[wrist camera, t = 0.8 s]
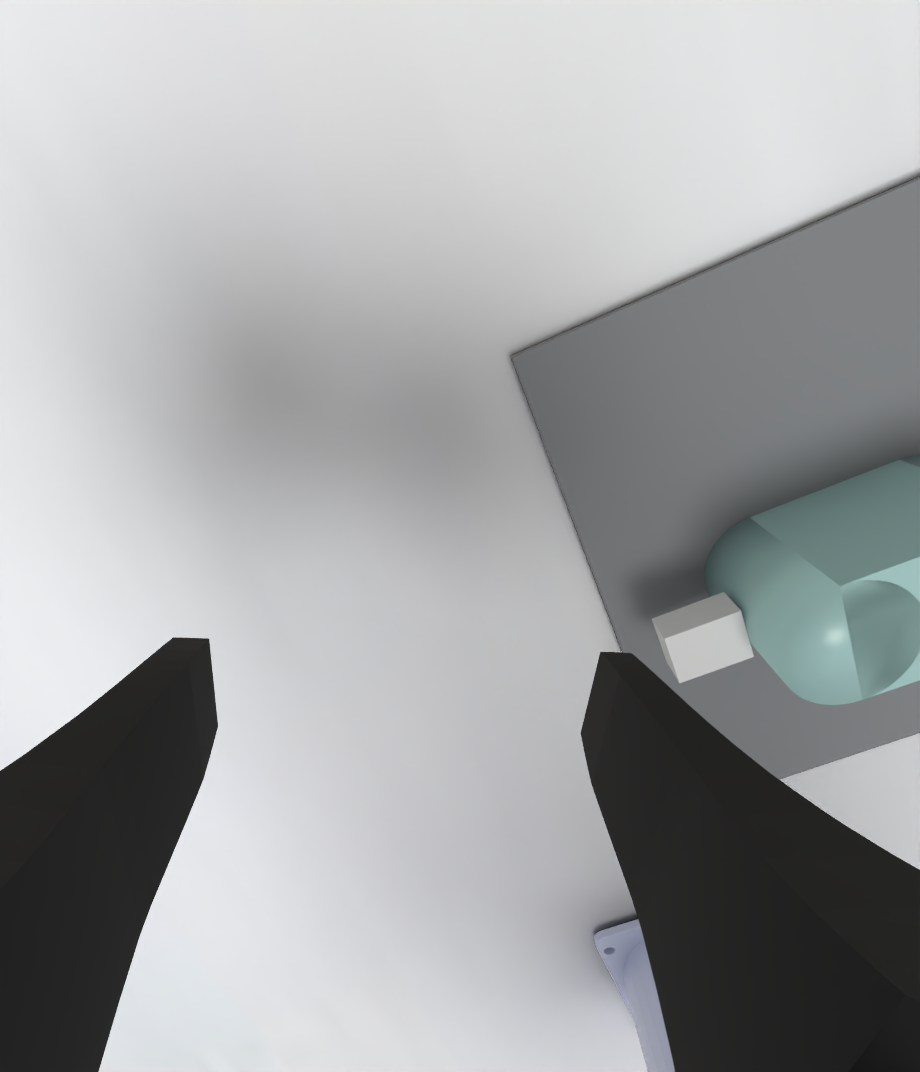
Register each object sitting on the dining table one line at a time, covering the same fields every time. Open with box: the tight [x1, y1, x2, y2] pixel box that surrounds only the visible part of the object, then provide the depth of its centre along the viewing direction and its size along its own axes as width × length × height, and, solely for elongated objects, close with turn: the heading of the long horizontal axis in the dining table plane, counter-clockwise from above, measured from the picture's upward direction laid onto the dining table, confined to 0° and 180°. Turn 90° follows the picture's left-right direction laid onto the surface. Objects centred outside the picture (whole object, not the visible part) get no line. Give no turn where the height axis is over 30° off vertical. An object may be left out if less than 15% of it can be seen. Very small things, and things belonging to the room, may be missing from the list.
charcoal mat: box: [511, 176, 920, 779], centre depth 21 cm, size 20×16×1 cm
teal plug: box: [652, 455, 920, 705], centre depth 19 cm, size 11×4×5 cm, turn 113°
